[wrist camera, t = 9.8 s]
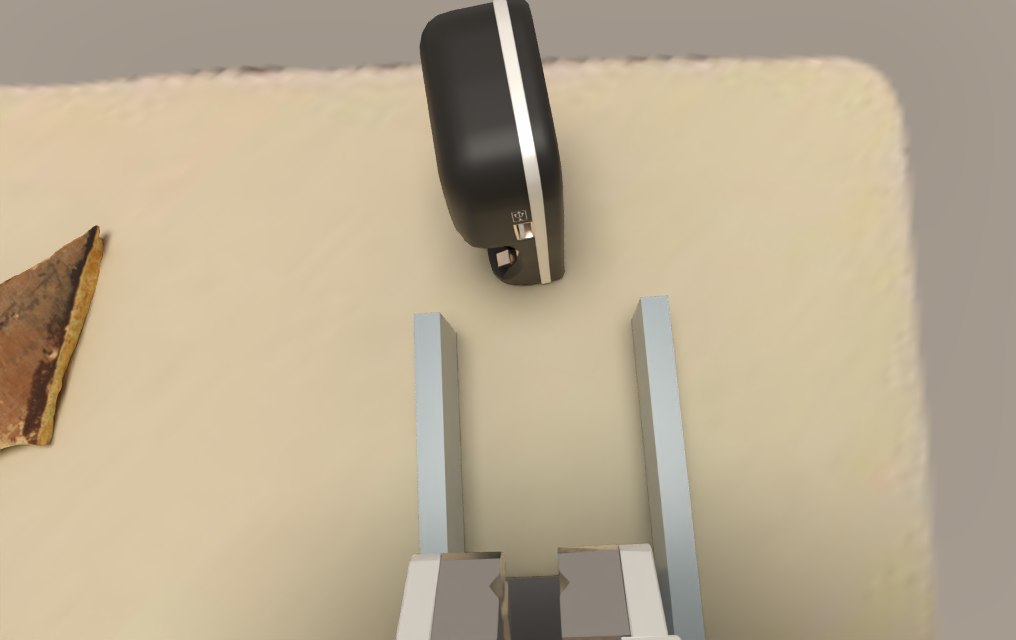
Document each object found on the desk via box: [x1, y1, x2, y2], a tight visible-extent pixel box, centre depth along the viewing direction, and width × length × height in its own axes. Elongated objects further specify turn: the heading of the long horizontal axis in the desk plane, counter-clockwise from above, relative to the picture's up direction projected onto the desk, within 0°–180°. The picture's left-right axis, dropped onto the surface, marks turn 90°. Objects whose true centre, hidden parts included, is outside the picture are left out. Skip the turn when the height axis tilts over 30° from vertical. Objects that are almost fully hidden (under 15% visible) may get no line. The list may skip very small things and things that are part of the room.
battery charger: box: [420, 0, 565, 285], centre depth 26 cm, size 7×4×11 cm, turn 10°
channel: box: [414, 296, 705, 640], centre depth 27 cm, size 10×14×4 cm
